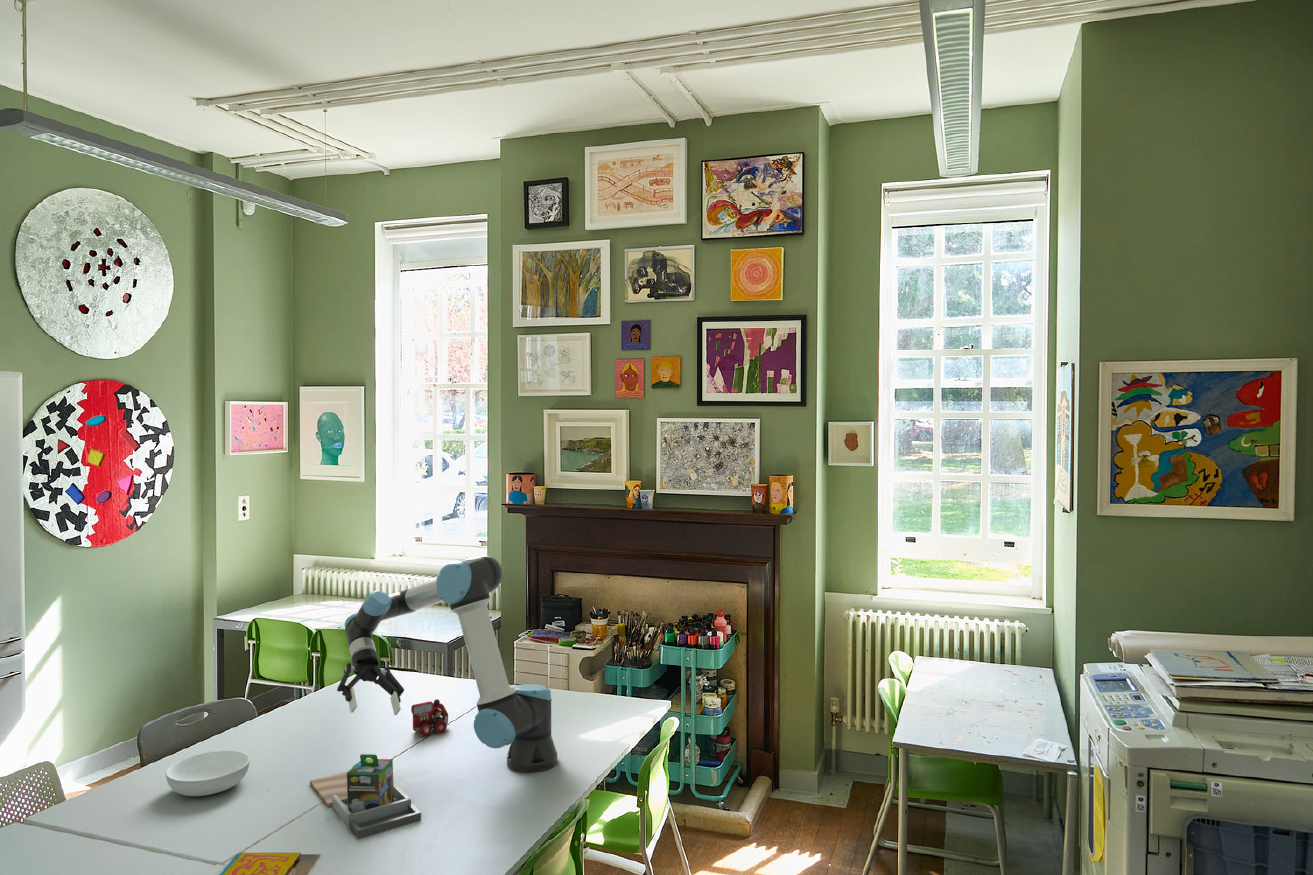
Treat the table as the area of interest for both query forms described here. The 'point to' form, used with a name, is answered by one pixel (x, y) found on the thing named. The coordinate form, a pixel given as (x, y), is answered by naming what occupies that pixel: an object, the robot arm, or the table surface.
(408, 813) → the grey open tray
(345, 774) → the wooden board
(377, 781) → the chalk box
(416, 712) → the toy fire truck
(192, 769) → the serving bowl
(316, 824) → the table surface
